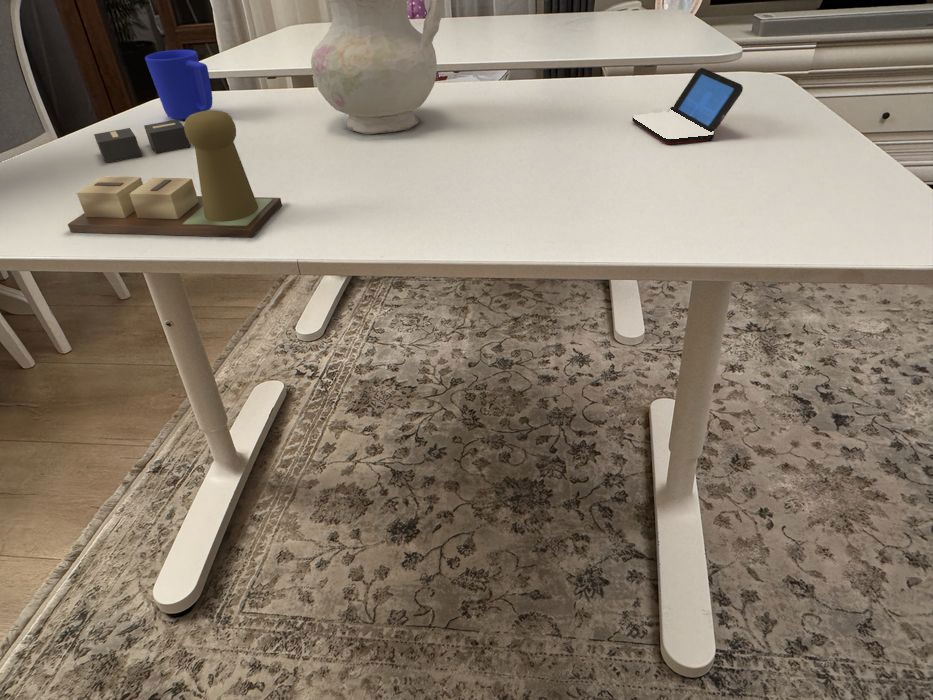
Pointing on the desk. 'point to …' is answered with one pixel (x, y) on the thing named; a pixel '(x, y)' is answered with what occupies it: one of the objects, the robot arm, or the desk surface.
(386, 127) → the ceramic pitcher
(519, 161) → the desk surface
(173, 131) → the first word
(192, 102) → the mug
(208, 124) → the olive chess pawn
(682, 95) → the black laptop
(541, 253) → the desk surface
